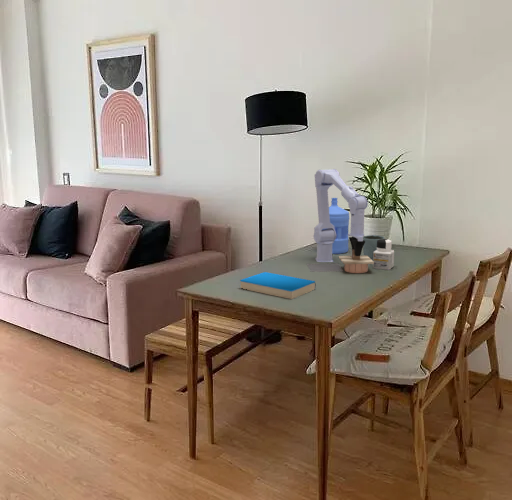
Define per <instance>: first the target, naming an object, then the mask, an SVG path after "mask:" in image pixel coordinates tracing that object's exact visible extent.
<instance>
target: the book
mask: <svg viewBox="0 0 512 500" xmlns="http://www.w3.org/2000/svg"><path fill="white" fill-rule="evenodd" d="M239 281H240V289H241V288H243V289H244V290H246V289H247V290H248V291H252V292H256V293H261V294H266V295H269V296H270V295H271V296H275V297H279V298H285V299H289V300H293V299H296V298H299V297H300V296H303V295H306V294H307V293H310V292H312V290H313V291H314V289H315V290H316V289H317V288H316V286H317V285H316V281H315V280H310V279H305V278H299V277H294V276H289V275H284V274H283V275H282V274H278V273H272V272H268V271H267V272H266V271H263V272H261V273H258V274H254V275H252V276H249V277H245V278H241V279H239ZM243 289H242V290H243ZM305 293H306V294H305ZM298 296H299V297H298Z"/></svg>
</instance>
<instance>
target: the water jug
mask: <svg viewBox="0 0 512 500" xmlns="http://www.w3.org/2000/svg"><path fill="white" fill-rule="evenodd" d="M330 203H331V204H330V206H329V215H330V223H331V224H332V225H334V227H335V232H336V239H335V241H334V243H332V255H340V254H345V253H347V252H349V236H348V234H349V224H350V211H348V210H346V209H344V208H343V207H341V206H339V205H338V203H339V202H338V197H331V202H330ZM326 229H327V228H326ZM322 230H325V229H322Z"/></svg>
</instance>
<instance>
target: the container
mask: <svg viewBox="0 0 512 500" xmlns="http://www.w3.org/2000/svg"><path fill="white" fill-rule="evenodd" d="M392 244H393V242H392V240H391V239H388V238H385V239H379V240H377V250H376V251H374V252H373V262H374V264H372V269H378V270H385V271H386V270H387V271H388V270H389V271H390V270H391V269H392V268H393V267H394V264H395V263H394V262H395V250H394V249H392Z"/></svg>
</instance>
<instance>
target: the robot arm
mask: <svg viewBox="0 0 512 500" xmlns="http://www.w3.org/2000/svg"><path fill="white" fill-rule="evenodd" d="M314 185H315V188H316V190H315V191H316V192H315V193H316V203H317V215H318V217H317V218H318V223H317V224H316V226H315V227H314V228H313V230H314V231H313V239H314V243H316V257H315V258H314V259H315V260H316V262H317V263H333V262H335V261H334V260H333V254H332V243H334V241H335V239H336V232H335V227H334V225H332V224H331V223H330V215H329V207H330V206H329V205H330V203H329V194H328V193H329V191H328V190H329V189H330V187H333V185H334V186H335V187H336V188H337V189H338V190H339V191H340V194H341V197H342V198H343V199H344V200H345V202H347V204H348V208H349V214H350V232H349V233H348V241H350V246H351V250H352V249H354V250H355V256H362V255H361V254H362V250H363V247H364V246H363V245H364V244H365V240H363V237H364V236H365V231H364V230H365V210H366V209H367V207H368V205H369V204H368V203H369V201H368V199H367V197H366V196H364V195H361V194H359V192H357V191H356V190H355V189H354V187H353V186H351V185H347V184H346V183H345V181H344V179H342V177H341V175H340V172H339V171H338V170H337V168H331V169H330V168H328V169H317V170H316V172H315V174H314ZM326 228H327V229H326ZM322 229H325V230H322Z"/></svg>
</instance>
